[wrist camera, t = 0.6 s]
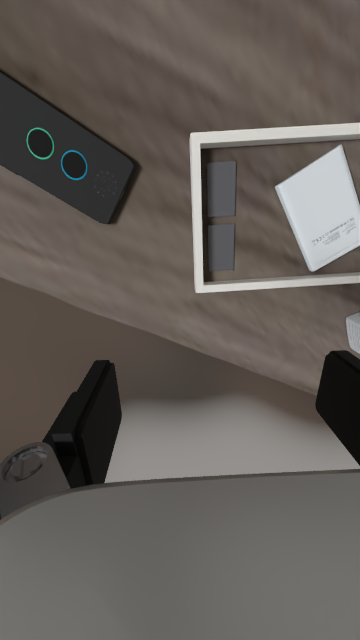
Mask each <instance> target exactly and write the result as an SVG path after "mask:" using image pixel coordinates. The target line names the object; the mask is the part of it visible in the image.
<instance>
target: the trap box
mask: <svg viewBox="0 0 360 640" xmlns="http://www.w3.org/2000/svg"><path fill="white" fill-rule="evenodd" d="M353 139H360V123H348V124H332V125H315V126H298V127H282V128H265V129H249V130H232V131H215V132H199V133H191V135H190V164H191V192H192V220H193V248H194V277H195V291H196V293H206V292H221V291H237V290H253V289H268V288H284V287H300V286H316V285H331V284H347V283H360V272H355V273H339V274H323V275H307V276H292V277H276V278H260V279H244V280H229V281H213V282H203V247H202V201H201V156H200V149H204V148H221V147H237V146H254V145H270V144H287V143H303V142H320V141H336V140H353ZM235 188H236V161H231V162H215V163H207V196H208V217H219V216H235ZM234 229H235V224H223V225H208V270H209V271H222V270H233V269H234Z"/></svg>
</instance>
